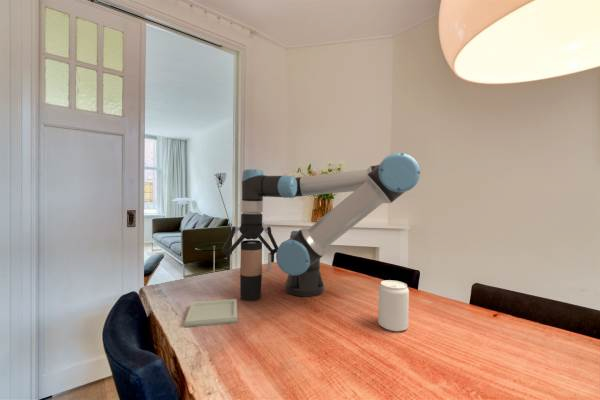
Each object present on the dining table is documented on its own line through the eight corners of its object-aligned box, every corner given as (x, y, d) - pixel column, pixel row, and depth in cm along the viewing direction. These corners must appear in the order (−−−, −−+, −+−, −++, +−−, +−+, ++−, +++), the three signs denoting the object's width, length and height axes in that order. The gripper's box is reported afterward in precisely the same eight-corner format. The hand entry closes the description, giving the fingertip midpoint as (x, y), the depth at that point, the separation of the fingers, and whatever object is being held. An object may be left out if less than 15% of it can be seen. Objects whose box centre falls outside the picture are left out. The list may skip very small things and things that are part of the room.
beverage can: (407, 322, 80) (408, 281, 80) (408, 335, 72) (409, 290, 72) (378, 317, 82) (379, 278, 82) (377, 329, 75) (378, 286, 75)
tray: (236, 303, 91) (236, 299, 91) (237, 322, 78) (237, 317, 78) (192, 307, 88) (192, 302, 88) (184, 327, 74) (184, 321, 74)
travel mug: (235, 299, 95) (236, 242, 95) (247, 292, 102) (248, 239, 102) (254, 302, 92) (255, 244, 92) (265, 295, 99) (266, 240, 99)
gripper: (284, 212, 104) (282, 268, 104) (216, 211, 98) (214, 270, 98) (288, 214, 96) (286, 273, 97) (214, 213, 90) (213, 276, 91)
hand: (250, 272), depth 97 cm, fingers open, 13 cm apart
